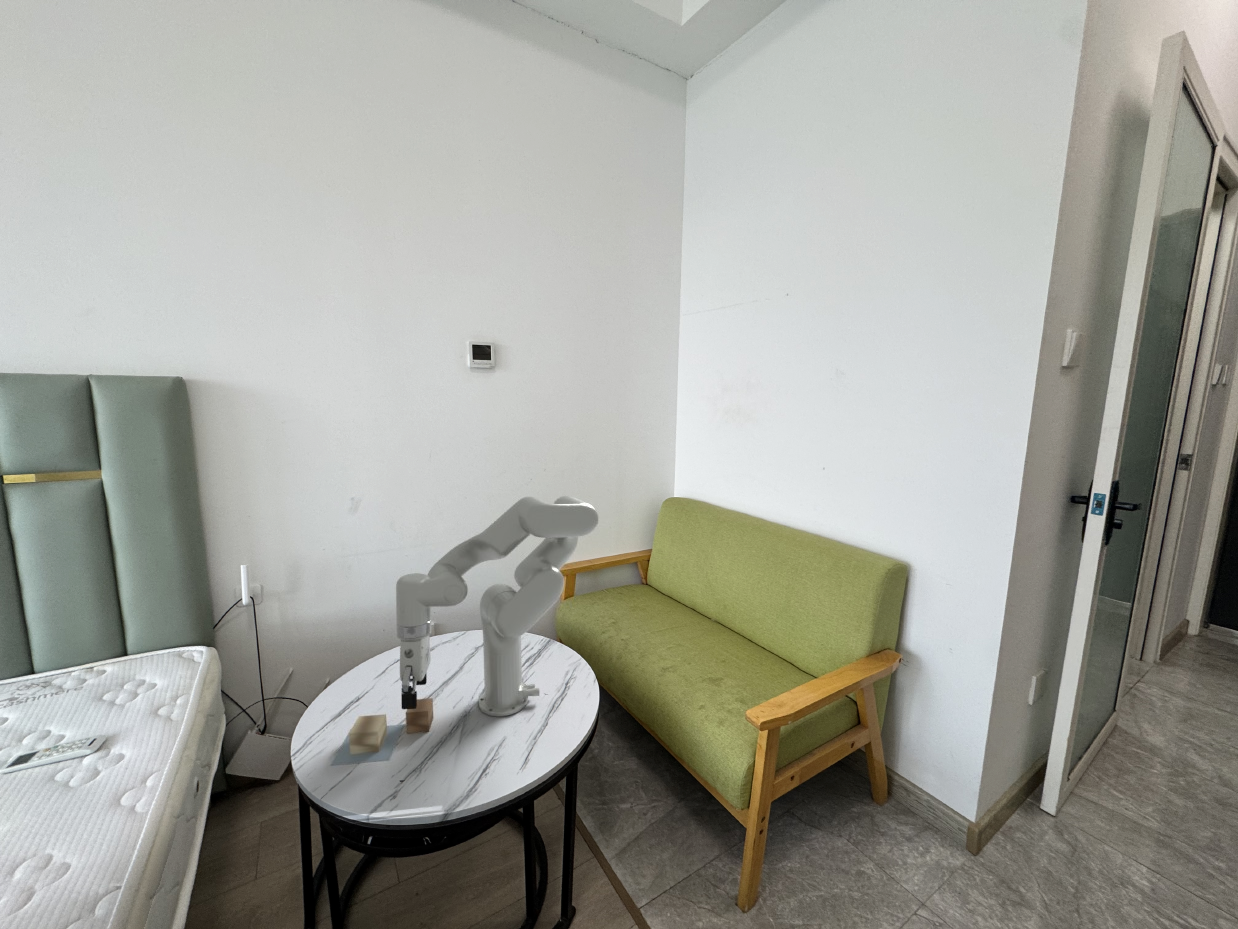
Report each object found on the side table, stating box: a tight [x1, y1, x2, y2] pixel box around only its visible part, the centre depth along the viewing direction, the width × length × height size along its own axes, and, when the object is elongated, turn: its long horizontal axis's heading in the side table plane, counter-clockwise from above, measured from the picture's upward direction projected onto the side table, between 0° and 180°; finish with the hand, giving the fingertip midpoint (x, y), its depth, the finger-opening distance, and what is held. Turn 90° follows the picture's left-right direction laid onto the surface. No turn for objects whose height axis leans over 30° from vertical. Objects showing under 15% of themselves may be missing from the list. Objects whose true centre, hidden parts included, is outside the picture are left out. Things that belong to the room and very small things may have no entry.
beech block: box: [348, 713, 388, 754], centre depth 114 cm, size 6×6×5 cm
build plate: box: [330, 723, 405, 767], centre depth 115 cm, size 12×12×1 cm
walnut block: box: [405, 697, 435, 735], centre depth 121 cm, size 5×5×6 cm
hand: (414, 696), depth 119 cm, fingers open, 9 cm apart
